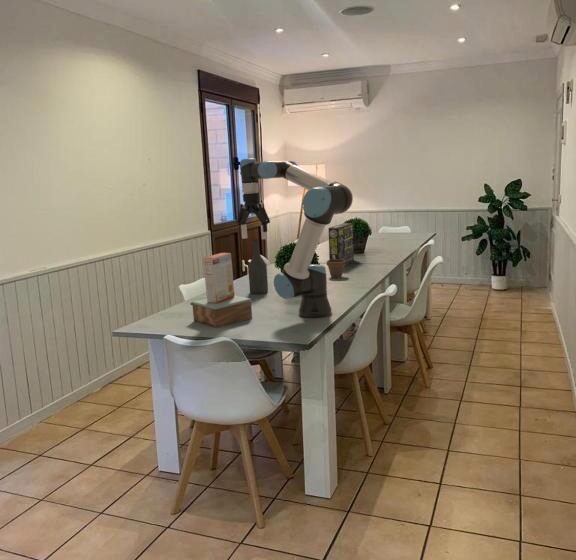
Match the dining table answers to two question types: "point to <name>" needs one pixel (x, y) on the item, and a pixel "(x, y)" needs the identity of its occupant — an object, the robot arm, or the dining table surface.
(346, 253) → the box
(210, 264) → the cracker box
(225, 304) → the lid
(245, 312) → the walnut chest
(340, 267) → the flower pot
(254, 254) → the bottle
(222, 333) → the dining table surface
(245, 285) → the dining table surface
